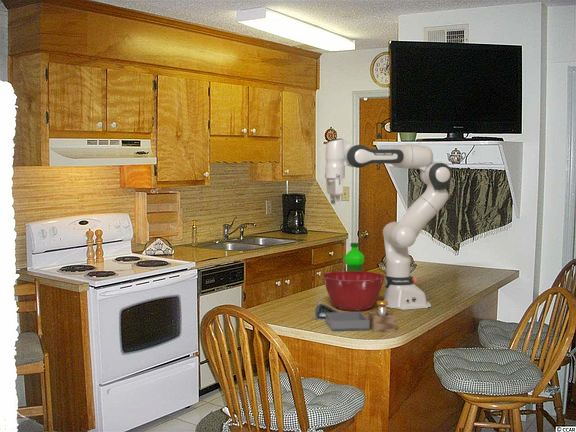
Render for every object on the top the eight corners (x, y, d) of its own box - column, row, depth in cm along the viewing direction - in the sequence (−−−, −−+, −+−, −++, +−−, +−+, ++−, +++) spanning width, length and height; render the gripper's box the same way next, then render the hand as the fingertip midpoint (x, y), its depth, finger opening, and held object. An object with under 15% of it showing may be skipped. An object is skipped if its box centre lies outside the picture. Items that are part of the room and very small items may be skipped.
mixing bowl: (312, 304, 299) (313, 271, 298) (366, 299, 309) (366, 268, 308) (338, 317, 273) (338, 282, 271) (395, 312, 283) (396, 278, 281)
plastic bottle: (343, 291, 329) (343, 244, 327) (346, 287, 339) (346, 241, 337) (362, 292, 326) (363, 244, 324) (364, 288, 337) (365, 242, 335)
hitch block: (389, 325, 259) (389, 311, 258) (396, 331, 250) (396, 316, 249) (368, 326, 258) (368, 312, 257) (373, 332, 249) (374, 317, 248)
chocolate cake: (342, 317, 276) (323, 297, 277) (344, 316, 269) (324, 295, 271) (327, 332, 274) (307, 312, 276) (328, 332, 267) (309, 311, 269)
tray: (360, 321, 266) (360, 311, 266) (369, 330, 251) (369, 320, 251) (325, 322, 264) (325, 312, 264) (332, 331, 250) (332, 321, 249)
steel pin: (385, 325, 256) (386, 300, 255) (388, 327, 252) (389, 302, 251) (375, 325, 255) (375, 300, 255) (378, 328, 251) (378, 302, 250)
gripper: (346, 174, 278) (346, 206, 279) (337, 174, 298) (337, 203, 299) (332, 174, 277) (332, 206, 278) (324, 174, 297) (324, 203, 298)
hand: (334, 204), depth 289 cm, fingers open, 8 cm apart
